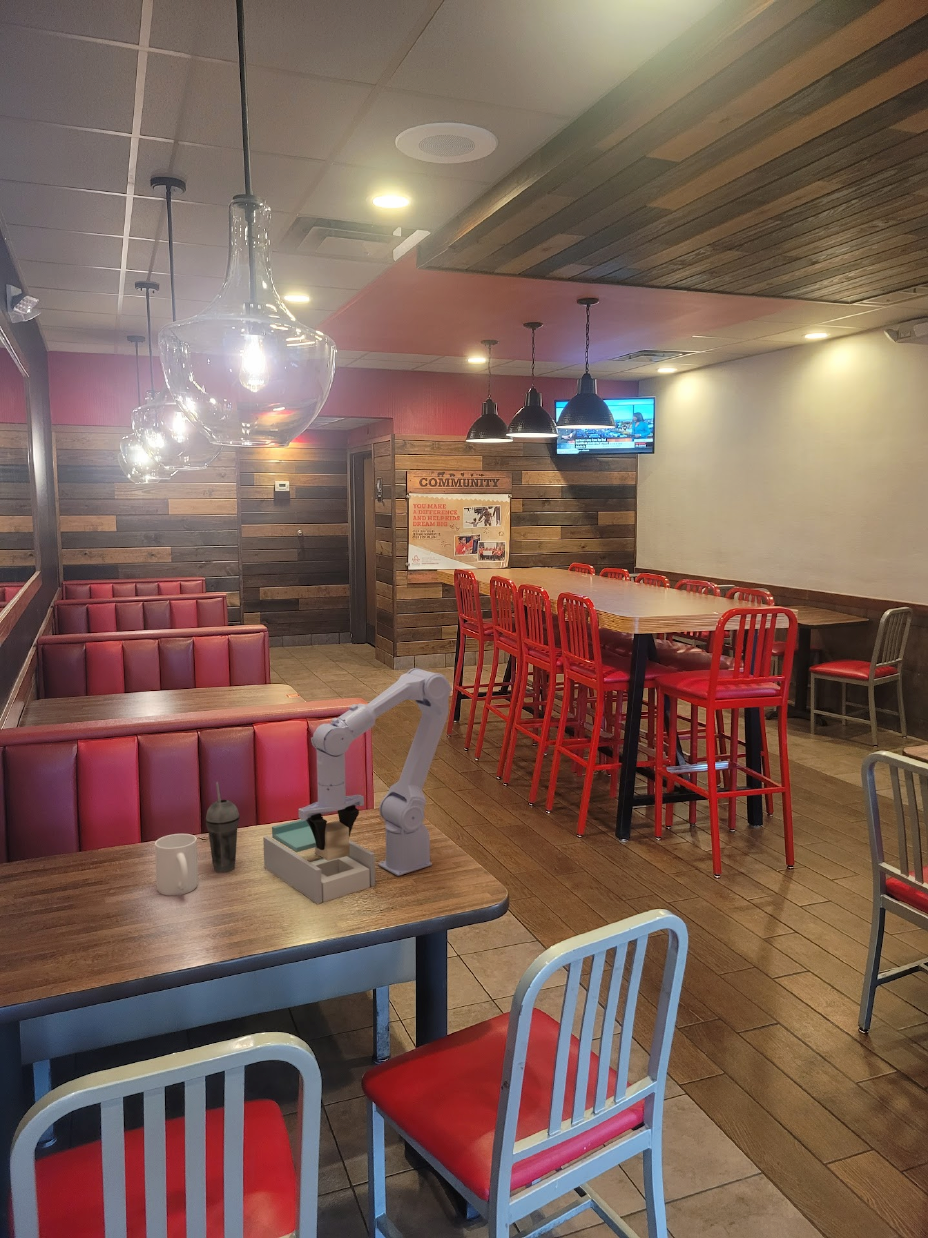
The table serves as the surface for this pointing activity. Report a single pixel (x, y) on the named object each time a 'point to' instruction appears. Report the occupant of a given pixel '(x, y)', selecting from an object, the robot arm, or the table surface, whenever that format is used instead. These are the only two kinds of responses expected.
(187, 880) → the mug
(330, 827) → the peg
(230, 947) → the table surface
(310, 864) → the housing
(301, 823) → the lid
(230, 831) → the beverage cup
